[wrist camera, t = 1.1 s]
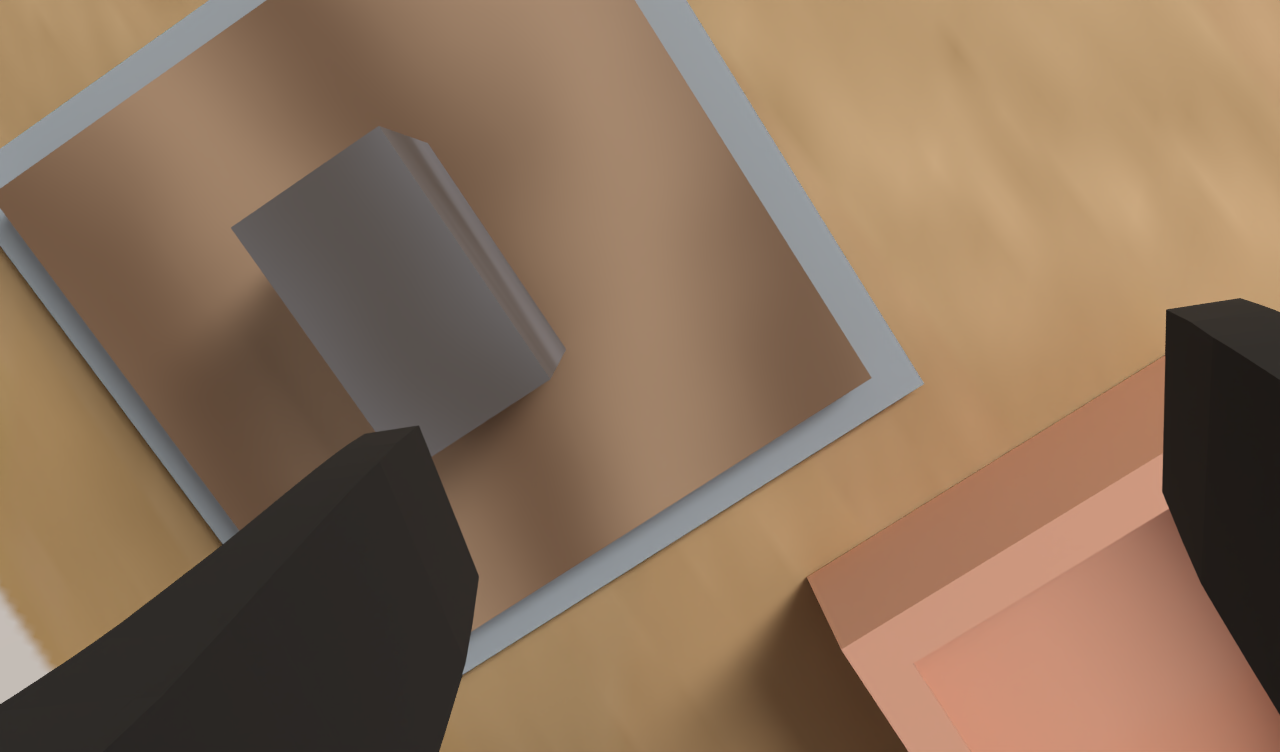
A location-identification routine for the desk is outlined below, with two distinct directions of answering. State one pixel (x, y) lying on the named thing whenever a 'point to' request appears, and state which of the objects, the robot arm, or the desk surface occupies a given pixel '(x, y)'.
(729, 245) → the walnut lid
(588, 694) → the desk surface
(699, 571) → the desk surface
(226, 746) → the robot arm
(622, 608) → the desk surface
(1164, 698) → the pink open box
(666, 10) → the rubber mat
